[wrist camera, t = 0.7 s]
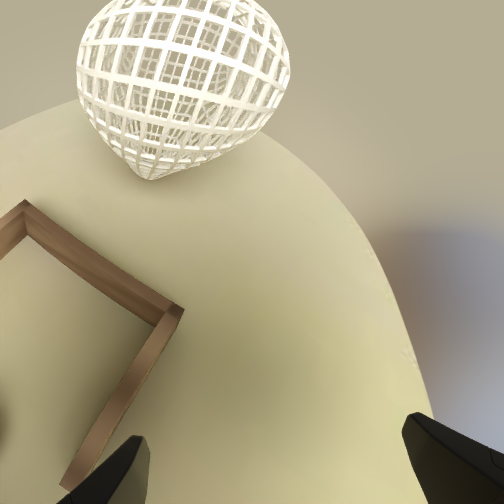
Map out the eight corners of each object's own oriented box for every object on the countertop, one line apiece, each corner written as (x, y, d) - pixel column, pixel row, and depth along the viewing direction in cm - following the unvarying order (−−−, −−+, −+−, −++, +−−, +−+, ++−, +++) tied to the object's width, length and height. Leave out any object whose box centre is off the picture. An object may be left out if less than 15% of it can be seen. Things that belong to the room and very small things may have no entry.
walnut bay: (80, 490, 12) (74, 494, 10) (-76, 334, 12) (-93, 316, 10) (176, 327, 23) (184, 309, 21) (28, 223, 23) (24, 199, 20)
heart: (110, 111, 39) (150, -28, 24) (206, 130, 45) (263, 1, 30) (50, 259, 22) (67, -39, 6) (220, 282, 28) (361, 41, 12)
